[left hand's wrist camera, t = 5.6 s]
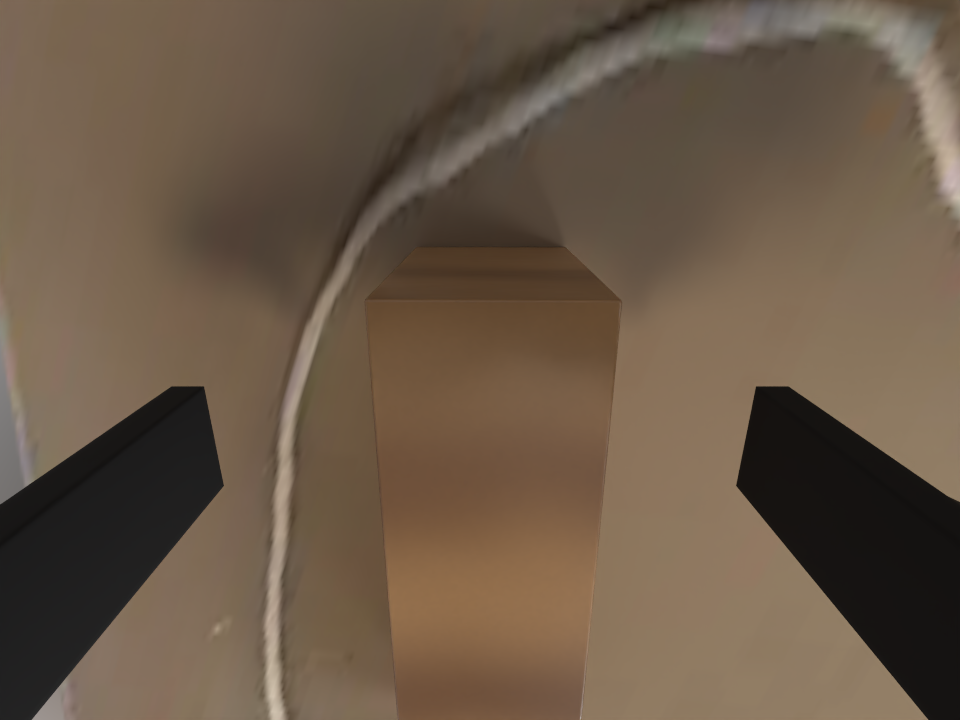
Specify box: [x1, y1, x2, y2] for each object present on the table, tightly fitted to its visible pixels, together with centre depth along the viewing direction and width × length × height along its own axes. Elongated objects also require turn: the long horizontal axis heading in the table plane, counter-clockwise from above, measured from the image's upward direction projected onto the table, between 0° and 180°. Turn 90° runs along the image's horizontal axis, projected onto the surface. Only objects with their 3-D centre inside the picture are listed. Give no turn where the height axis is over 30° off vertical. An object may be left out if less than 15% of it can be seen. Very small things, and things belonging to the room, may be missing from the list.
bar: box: [365, 247, 622, 720], centre depth 20 cm, size 25×6×9 cm, turn 0°
